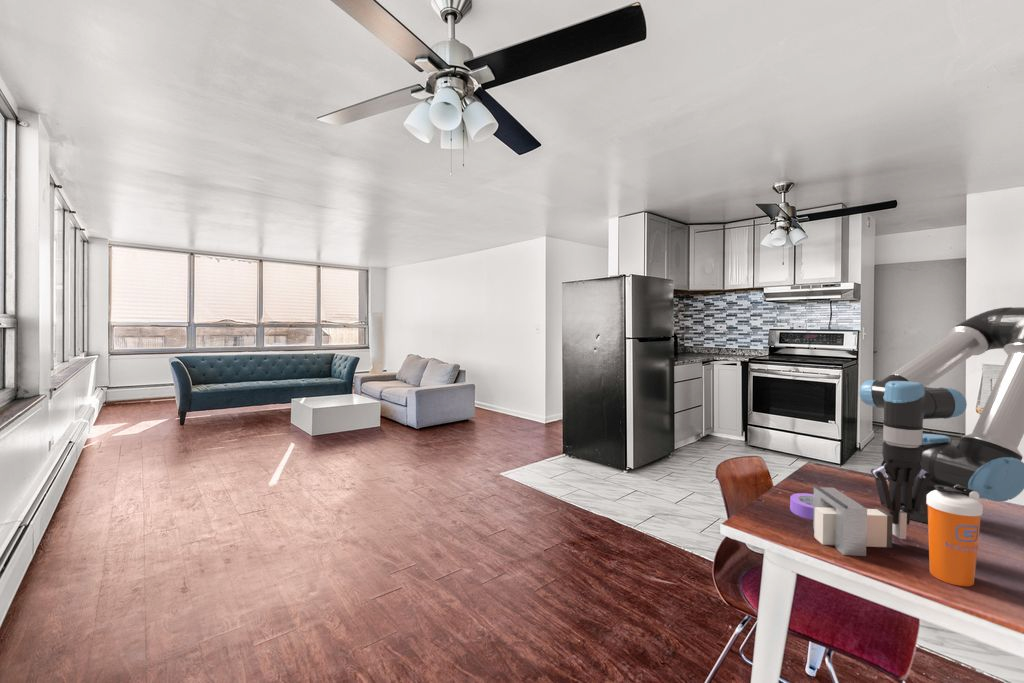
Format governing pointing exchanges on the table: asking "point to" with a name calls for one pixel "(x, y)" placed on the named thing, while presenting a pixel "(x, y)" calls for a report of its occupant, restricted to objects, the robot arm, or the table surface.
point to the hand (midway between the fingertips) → (899, 536)
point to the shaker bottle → (953, 533)
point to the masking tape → (802, 505)
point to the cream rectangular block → (876, 527)
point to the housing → (844, 520)
